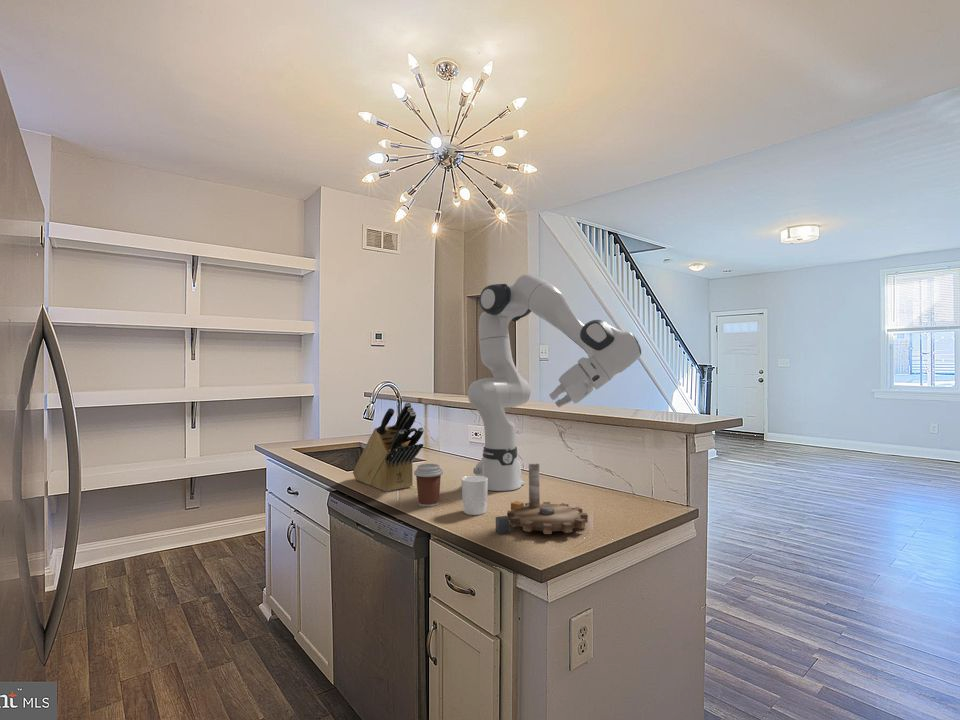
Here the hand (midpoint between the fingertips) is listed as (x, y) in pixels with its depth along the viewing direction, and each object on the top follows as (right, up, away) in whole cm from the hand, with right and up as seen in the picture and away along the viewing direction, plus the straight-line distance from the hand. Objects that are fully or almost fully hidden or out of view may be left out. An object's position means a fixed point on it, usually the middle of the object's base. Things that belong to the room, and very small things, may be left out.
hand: (553, 401), depth 150 cm
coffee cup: (-38, -33, +11) cm, 52 cm away
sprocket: (-3, -31, -11) cm, 34 cm away
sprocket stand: (-9, -33, -14) cm, 37 cm away
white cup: (-23, -33, +2) cm, 41 cm away
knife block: (-55, -34, +34) cm, 73 cm away
